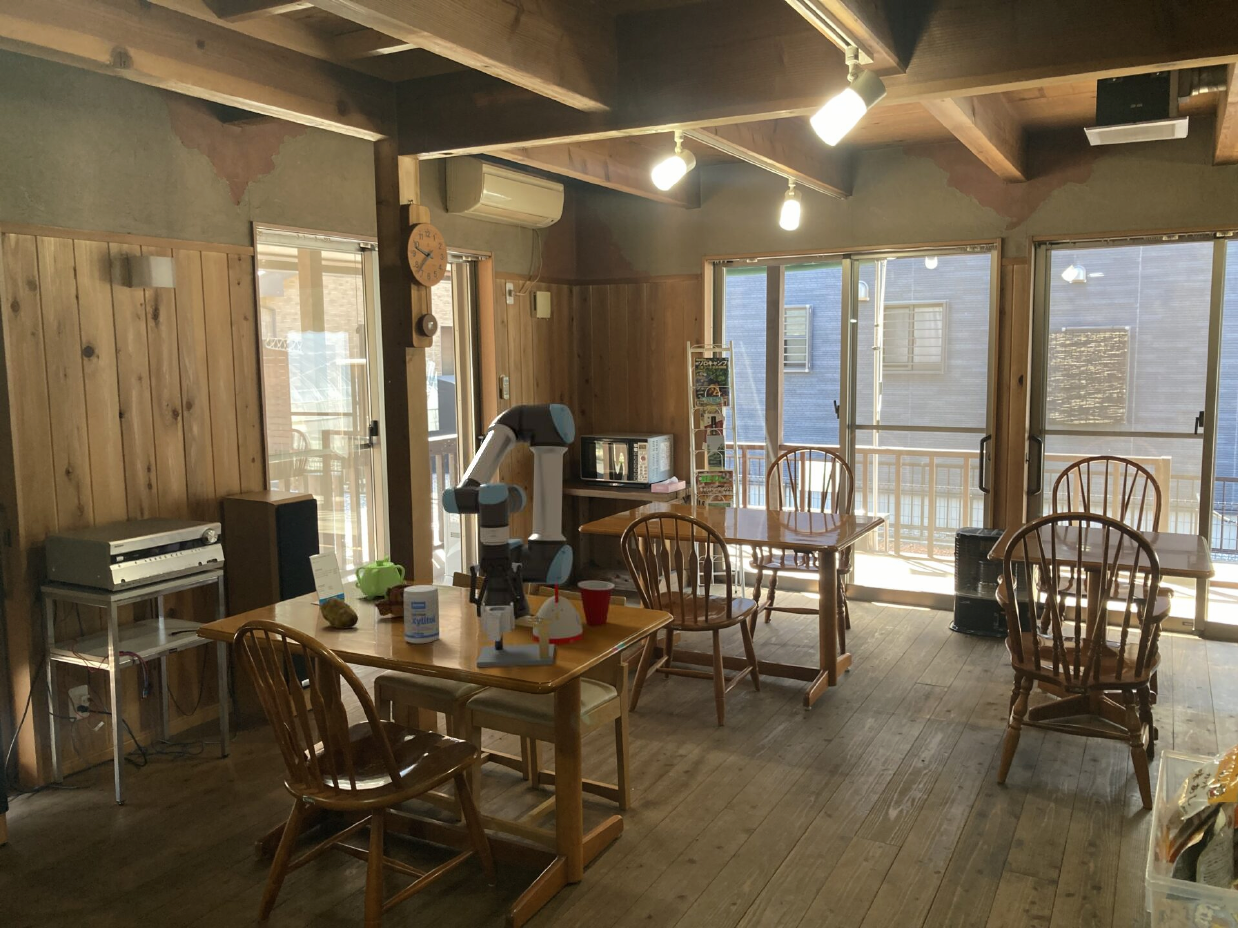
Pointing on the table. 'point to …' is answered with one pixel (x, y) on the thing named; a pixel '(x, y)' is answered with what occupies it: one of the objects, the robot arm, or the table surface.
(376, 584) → the green lidded pot
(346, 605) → the potato
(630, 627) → the table surface
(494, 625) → the link
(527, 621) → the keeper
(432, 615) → the supplement tub
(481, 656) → the board
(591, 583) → the plastic cup
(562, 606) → the kitchen timer
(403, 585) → the wooden carving
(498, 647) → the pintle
